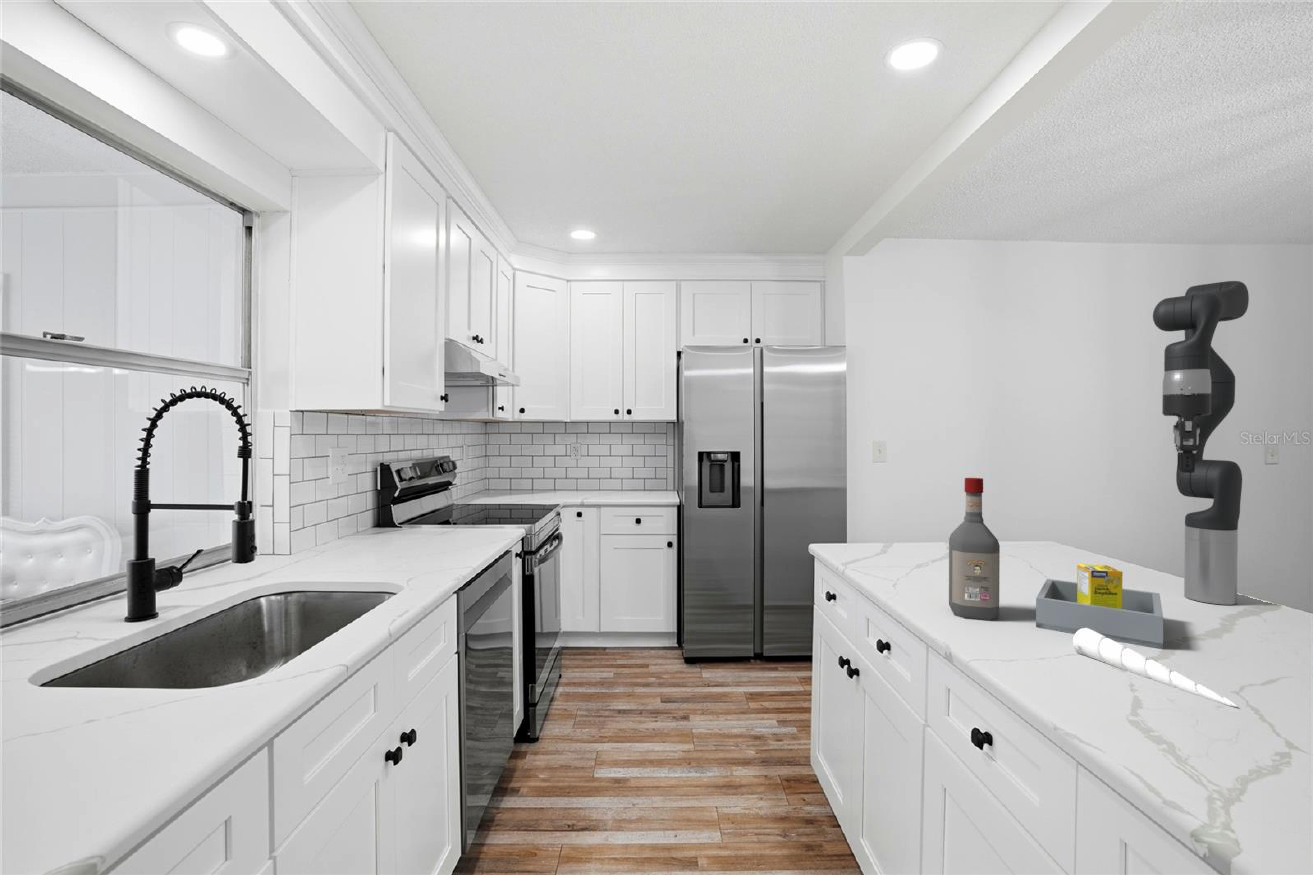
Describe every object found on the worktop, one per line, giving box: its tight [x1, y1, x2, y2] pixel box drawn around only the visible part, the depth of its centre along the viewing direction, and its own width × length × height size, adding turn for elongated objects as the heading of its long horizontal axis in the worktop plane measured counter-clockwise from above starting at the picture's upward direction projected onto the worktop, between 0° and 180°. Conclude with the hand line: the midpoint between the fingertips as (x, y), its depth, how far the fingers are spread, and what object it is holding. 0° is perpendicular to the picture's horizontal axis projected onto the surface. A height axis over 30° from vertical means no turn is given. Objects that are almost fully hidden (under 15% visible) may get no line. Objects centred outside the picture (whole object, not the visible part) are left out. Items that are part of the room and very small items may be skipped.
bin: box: [1035, 578, 1164, 650], centre depth 125 cm, size 20×20×6 cm
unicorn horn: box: [1072, 628, 1239, 708], centre depth 99 cm, size 5×24×5 cm, turn 14°
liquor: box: [948, 477, 1001, 621], centre depth 132 cm, size 9×9×30 cm
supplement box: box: [1076, 563, 1123, 609], centre depth 125 cm, size 6×6×11 cm
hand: (1185, 471), depth 124 cm, fingers open, 8 cm apart
